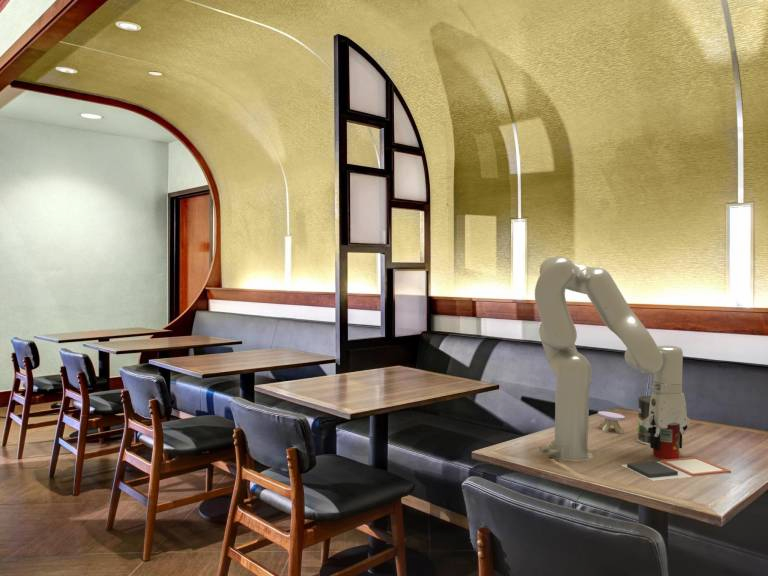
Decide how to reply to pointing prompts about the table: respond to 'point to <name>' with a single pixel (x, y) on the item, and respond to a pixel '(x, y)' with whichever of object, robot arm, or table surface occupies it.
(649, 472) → the ink pad
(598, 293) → the robot arm
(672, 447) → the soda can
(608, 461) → the table surface
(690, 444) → the table surface
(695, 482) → the table surface
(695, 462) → the red bordered square panel
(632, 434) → the table surface
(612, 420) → the toy table
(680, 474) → the board
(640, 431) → the coffee can
